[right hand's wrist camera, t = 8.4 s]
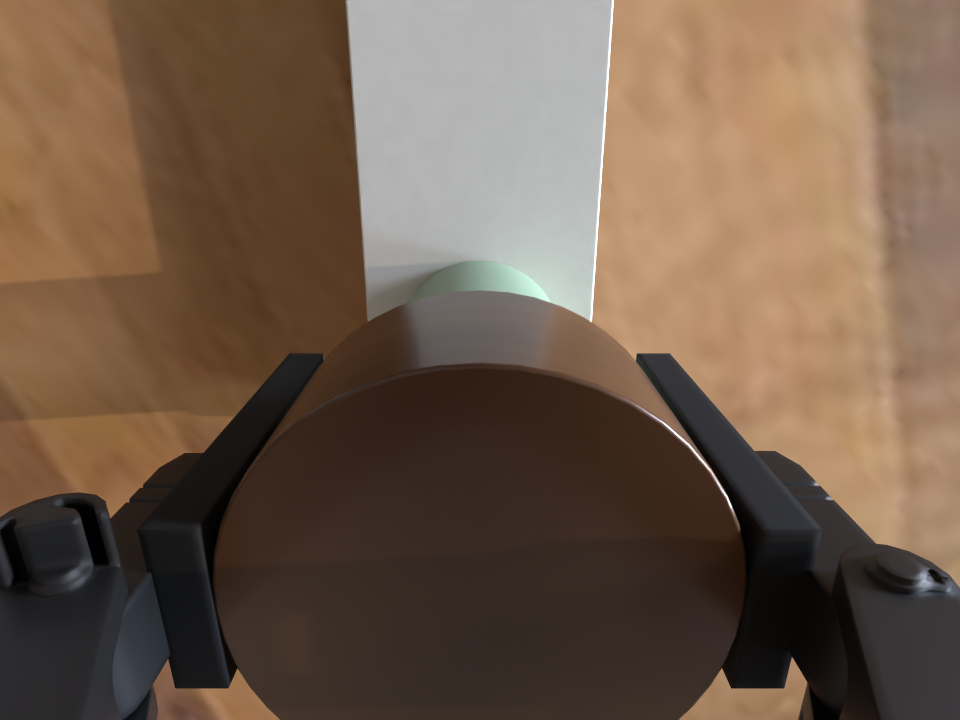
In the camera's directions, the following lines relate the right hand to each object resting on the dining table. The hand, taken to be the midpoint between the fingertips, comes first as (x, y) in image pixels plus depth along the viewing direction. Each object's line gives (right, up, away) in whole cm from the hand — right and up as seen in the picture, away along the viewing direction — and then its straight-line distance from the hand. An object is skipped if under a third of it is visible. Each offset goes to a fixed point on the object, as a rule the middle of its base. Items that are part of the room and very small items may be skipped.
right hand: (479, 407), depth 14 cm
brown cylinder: (0, -1, -3) cm, 3 cm away
